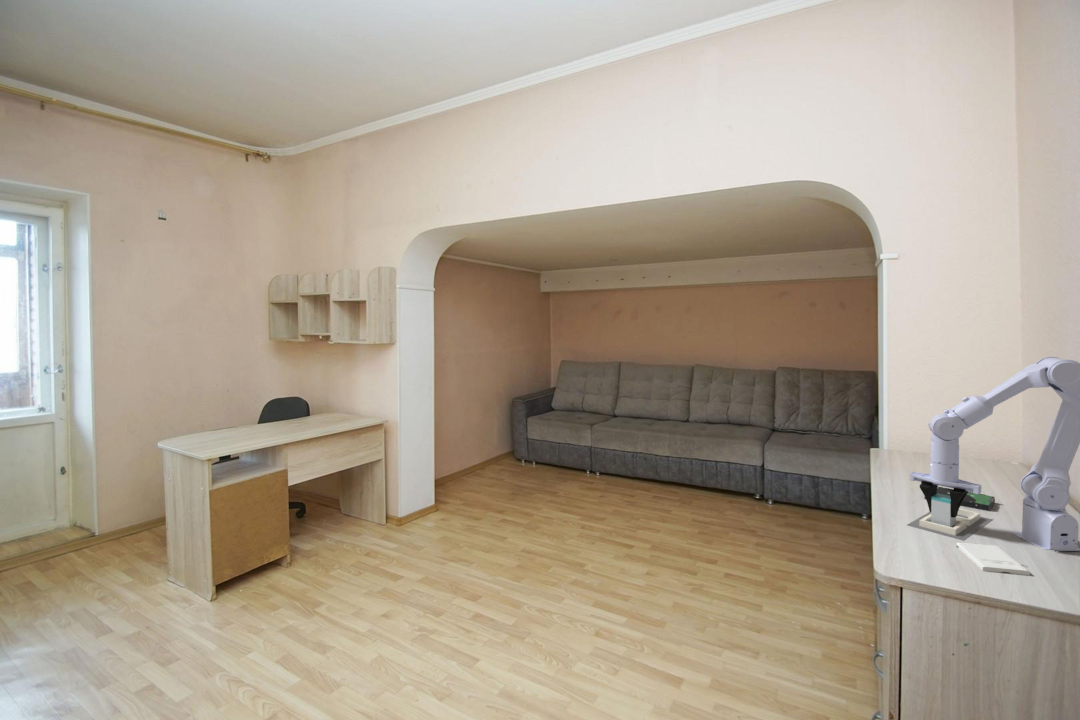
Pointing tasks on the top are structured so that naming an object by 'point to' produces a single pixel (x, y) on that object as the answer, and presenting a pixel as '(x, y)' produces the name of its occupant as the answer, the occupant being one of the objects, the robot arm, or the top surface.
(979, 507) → the disk drive
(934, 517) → the plug
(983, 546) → the external hard drive
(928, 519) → the frame
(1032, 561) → the top surface
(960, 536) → the mat
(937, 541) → the top surface
